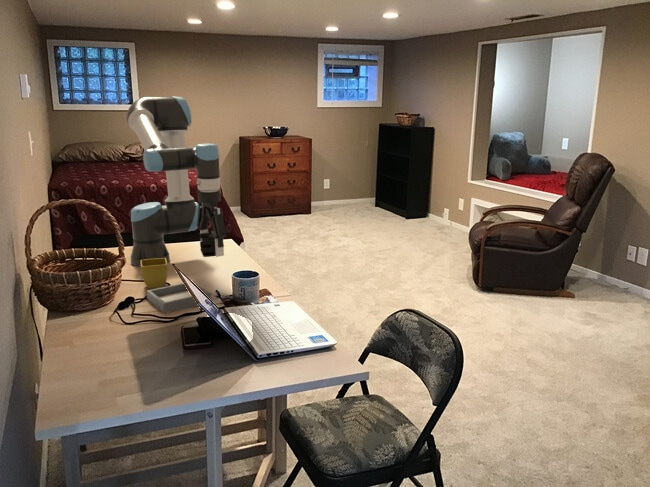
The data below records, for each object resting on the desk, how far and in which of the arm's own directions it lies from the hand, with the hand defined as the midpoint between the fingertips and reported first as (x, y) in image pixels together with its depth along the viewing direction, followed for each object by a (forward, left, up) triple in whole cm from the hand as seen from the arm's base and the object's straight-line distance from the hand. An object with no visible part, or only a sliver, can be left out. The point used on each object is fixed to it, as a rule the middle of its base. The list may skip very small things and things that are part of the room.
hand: (212, 251), depth 199 cm
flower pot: (-12, -17, -13) cm, 24 cm away
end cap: (0, 0, -1) cm, 1 cm away
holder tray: (+7, -16, -12) cm, 22 cm away
